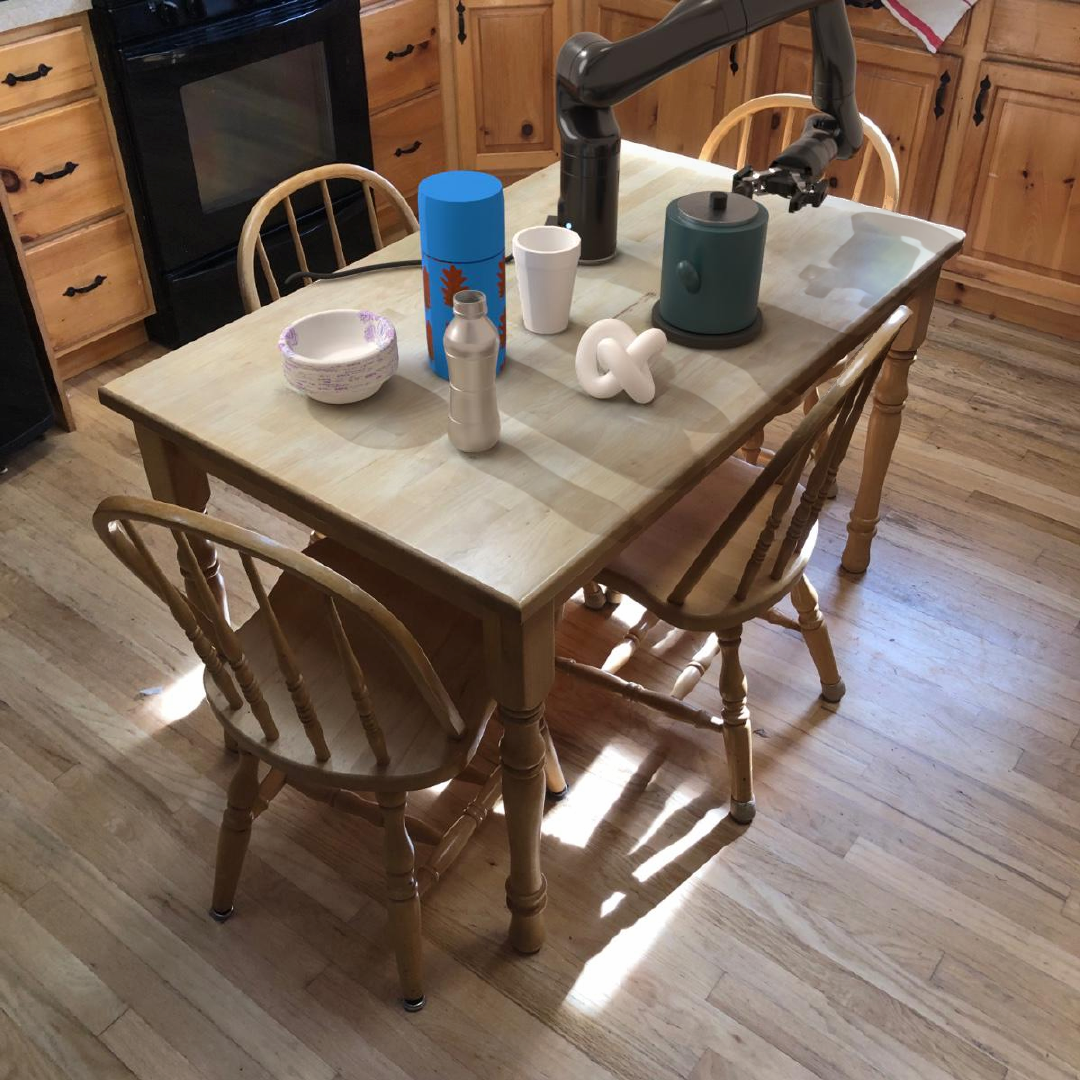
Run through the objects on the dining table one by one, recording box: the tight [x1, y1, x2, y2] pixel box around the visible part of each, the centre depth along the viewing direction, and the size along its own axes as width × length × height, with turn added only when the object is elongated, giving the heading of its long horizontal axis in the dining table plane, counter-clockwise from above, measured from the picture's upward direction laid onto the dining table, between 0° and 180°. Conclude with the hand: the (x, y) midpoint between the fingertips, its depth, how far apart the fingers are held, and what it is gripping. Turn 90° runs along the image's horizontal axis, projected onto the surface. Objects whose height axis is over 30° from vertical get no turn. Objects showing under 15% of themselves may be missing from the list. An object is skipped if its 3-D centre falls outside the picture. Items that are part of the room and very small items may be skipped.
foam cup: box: [511, 225, 581, 335], centre depth 168 cm, size 10×9×13 cm
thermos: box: [417, 170, 507, 381], centre depth 155 cm, size 11×11×25 cm
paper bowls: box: [277, 308, 400, 405], centre depth 155 cm, size 15×15×8 cm
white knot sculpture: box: [575, 318, 668, 404], centre depth 153 cm, size 11×12×9 cm
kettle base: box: [650, 298, 764, 350], centre depth 172 cm, size 16×16×2 cm
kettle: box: [659, 180, 770, 334], centre depth 166 cm, size 24×14×17 cm, turn 151°
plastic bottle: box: [443, 290, 502, 453], centre depth 140 cm, size 6×7×20 cm
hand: (764, 201), depth 179 cm, fingers open, 8 cm apart
